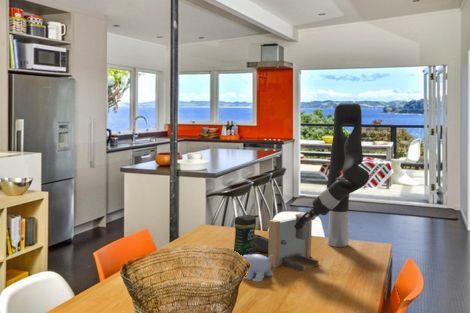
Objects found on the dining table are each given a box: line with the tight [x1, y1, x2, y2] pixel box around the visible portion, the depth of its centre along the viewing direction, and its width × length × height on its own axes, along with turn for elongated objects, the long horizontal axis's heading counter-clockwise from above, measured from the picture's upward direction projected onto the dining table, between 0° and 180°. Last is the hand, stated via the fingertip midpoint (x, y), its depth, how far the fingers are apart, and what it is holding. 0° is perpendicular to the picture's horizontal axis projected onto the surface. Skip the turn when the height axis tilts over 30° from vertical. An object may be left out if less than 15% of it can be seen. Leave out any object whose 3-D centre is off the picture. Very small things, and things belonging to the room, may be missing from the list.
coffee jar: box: [233, 214, 257, 256], centre depth 204 cm, size 10×8×19 cm
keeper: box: [282, 253, 319, 272], centre depth 194 cm, size 11×10×3 cm
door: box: [267, 212, 313, 268], centre depth 199 cm, size 24×5×19 cm, turn 133°
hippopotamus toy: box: [243, 253, 273, 283], centre depth 180 cm, size 11×15×10 cm
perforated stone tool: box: [255, 233, 269, 254], centre depth 213 cm, size 15×5×7 cm, turn 42°
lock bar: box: [295, 212, 310, 240], centre depth 192 cm, size 4×4×10 cm
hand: (298, 226), depth 193 cm, fingers closed on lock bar, 5 cm apart
